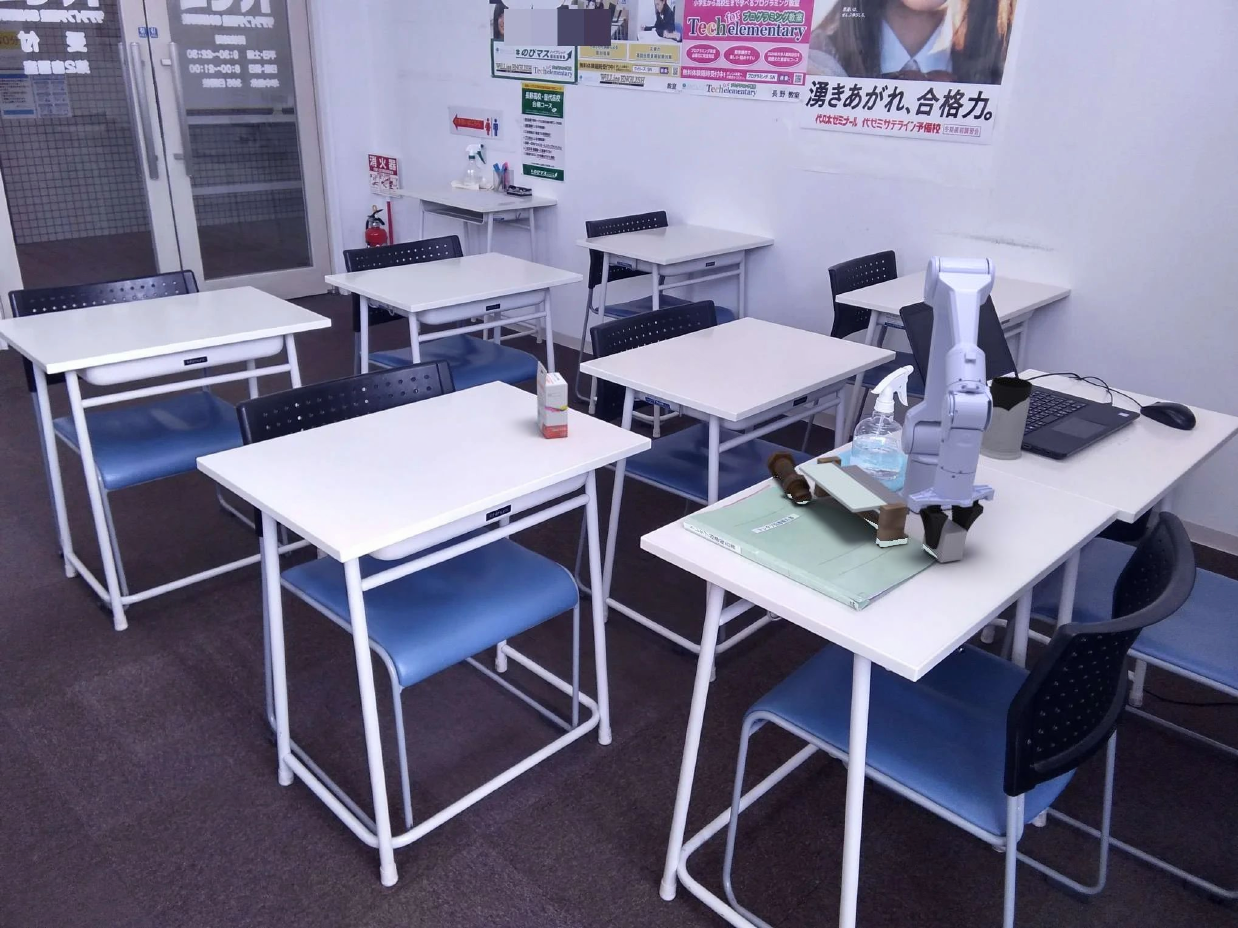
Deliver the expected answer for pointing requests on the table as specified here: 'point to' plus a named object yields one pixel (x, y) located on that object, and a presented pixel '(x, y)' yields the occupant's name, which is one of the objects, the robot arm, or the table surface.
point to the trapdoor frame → (887, 520)
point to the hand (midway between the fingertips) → (943, 544)
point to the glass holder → (1007, 418)
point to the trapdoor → (852, 486)
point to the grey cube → (950, 542)
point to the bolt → (789, 475)
